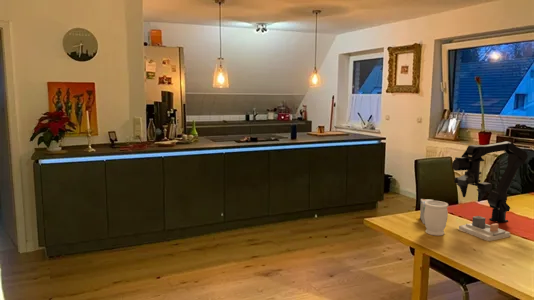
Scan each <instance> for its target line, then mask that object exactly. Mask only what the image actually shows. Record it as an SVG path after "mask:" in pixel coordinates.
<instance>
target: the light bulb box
mask: <svg viewBox="0 0 534 300" xmlns="http://www.w3.org/2000/svg"><path fill="white" fill-rule="evenodd" d="M426 201H435V200H434V199H428V198H427V199H425V198H420V210H419V211H420V212H419V215H420V216H419V218H420V220H421V222H422V224H423V225H425V220H424V210H425V207H426V205H425V202H426Z"/></svg>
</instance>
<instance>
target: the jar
mask: <svg viewBox="0 0 534 300" xmlns="http://www.w3.org/2000/svg"><path fill="white" fill-rule="evenodd" d="M425 205H426V207H425V210H424V220H425V224H424V226H425V228H426V229H425V233H426V234H428V235H431V236H439V237H440V236H443V235H445V231H444V230H445V229H446V227H447V223H448V217H449V215H448V214H449V213H448V207H449V203H448V202H445V201H440V200H434V201H426V202H425Z"/></svg>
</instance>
